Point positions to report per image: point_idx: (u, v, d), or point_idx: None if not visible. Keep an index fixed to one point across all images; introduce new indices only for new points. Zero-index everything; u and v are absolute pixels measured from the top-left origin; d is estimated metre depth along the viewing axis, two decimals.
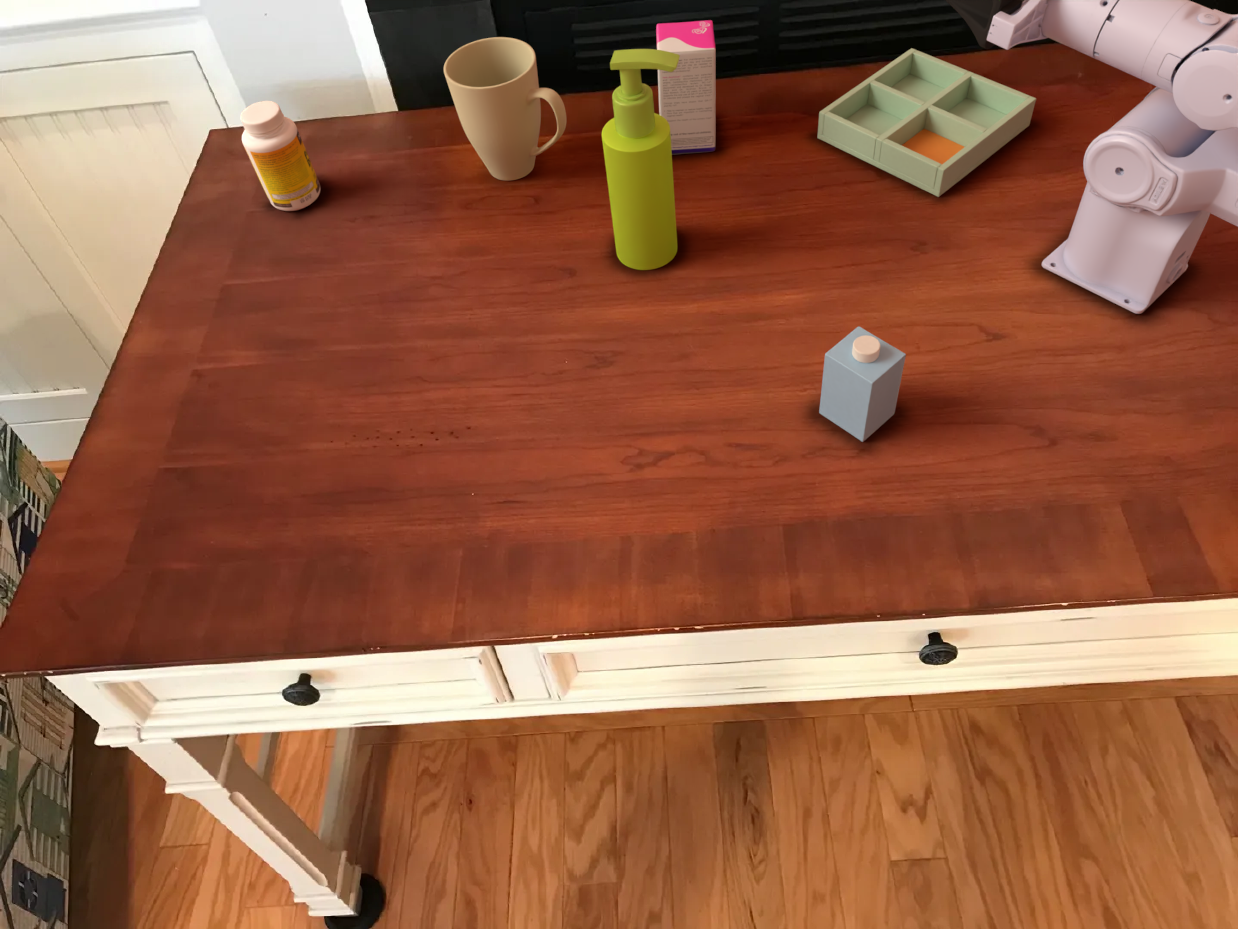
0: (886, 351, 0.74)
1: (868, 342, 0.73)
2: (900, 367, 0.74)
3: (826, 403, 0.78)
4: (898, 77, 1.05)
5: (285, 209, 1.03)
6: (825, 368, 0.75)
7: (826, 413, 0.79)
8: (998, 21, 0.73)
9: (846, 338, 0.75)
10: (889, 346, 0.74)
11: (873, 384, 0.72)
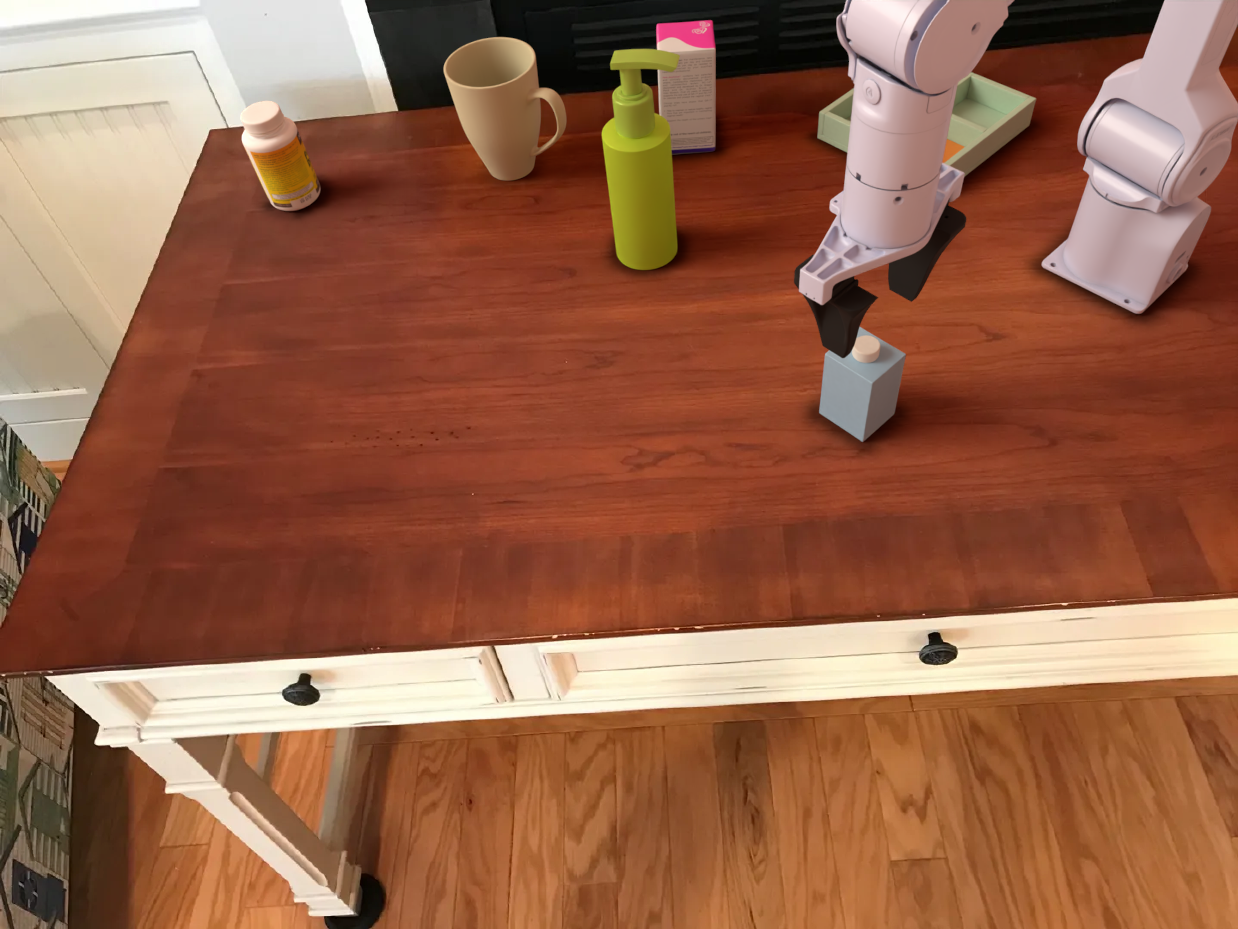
0: (886, 351, 0.74)
1: (868, 342, 0.73)
2: (900, 367, 0.74)
3: (826, 403, 0.78)
4: None
5: (285, 209, 1.03)
6: (825, 368, 0.75)
7: (826, 413, 0.79)
8: (801, 287, 0.63)
9: None
10: (889, 346, 0.74)
11: (873, 384, 0.72)
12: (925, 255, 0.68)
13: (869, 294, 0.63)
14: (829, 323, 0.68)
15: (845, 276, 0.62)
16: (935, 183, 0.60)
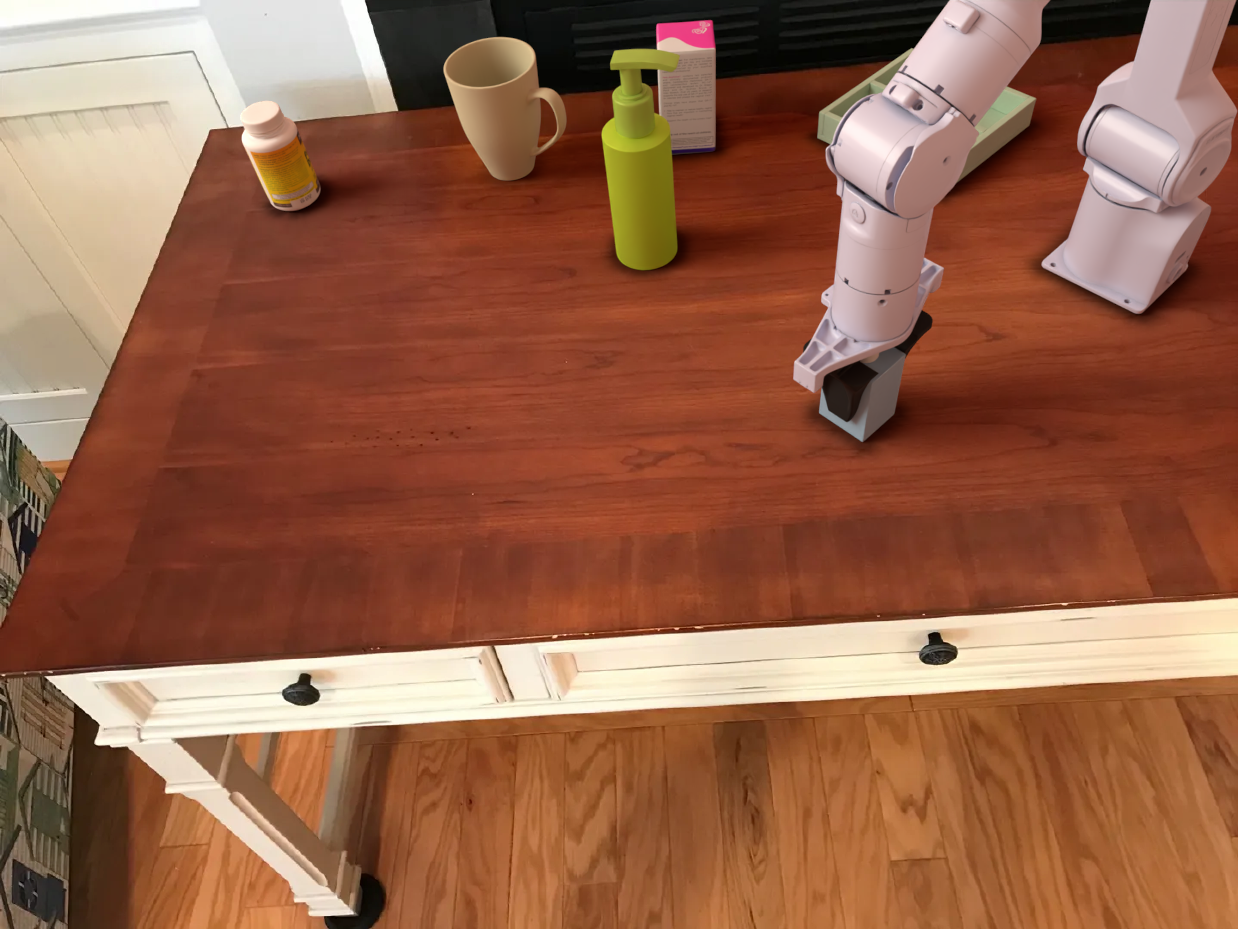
0: (886, 351, 0.74)
1: None
2: (900, 367, 0.74)
3: None
4: None
5: (285, 209, 1.03)
6: None
7: (826, 413, 0.79)
8: (795, 376, 0.70)
9: None
10: None
11: (872, 384, 0.72)
12: None
13: (870, 370, 0.70)
14: (834, 392, 0.75)
15: (835, 367, 0.68)
16: (915, 286, 0.66)
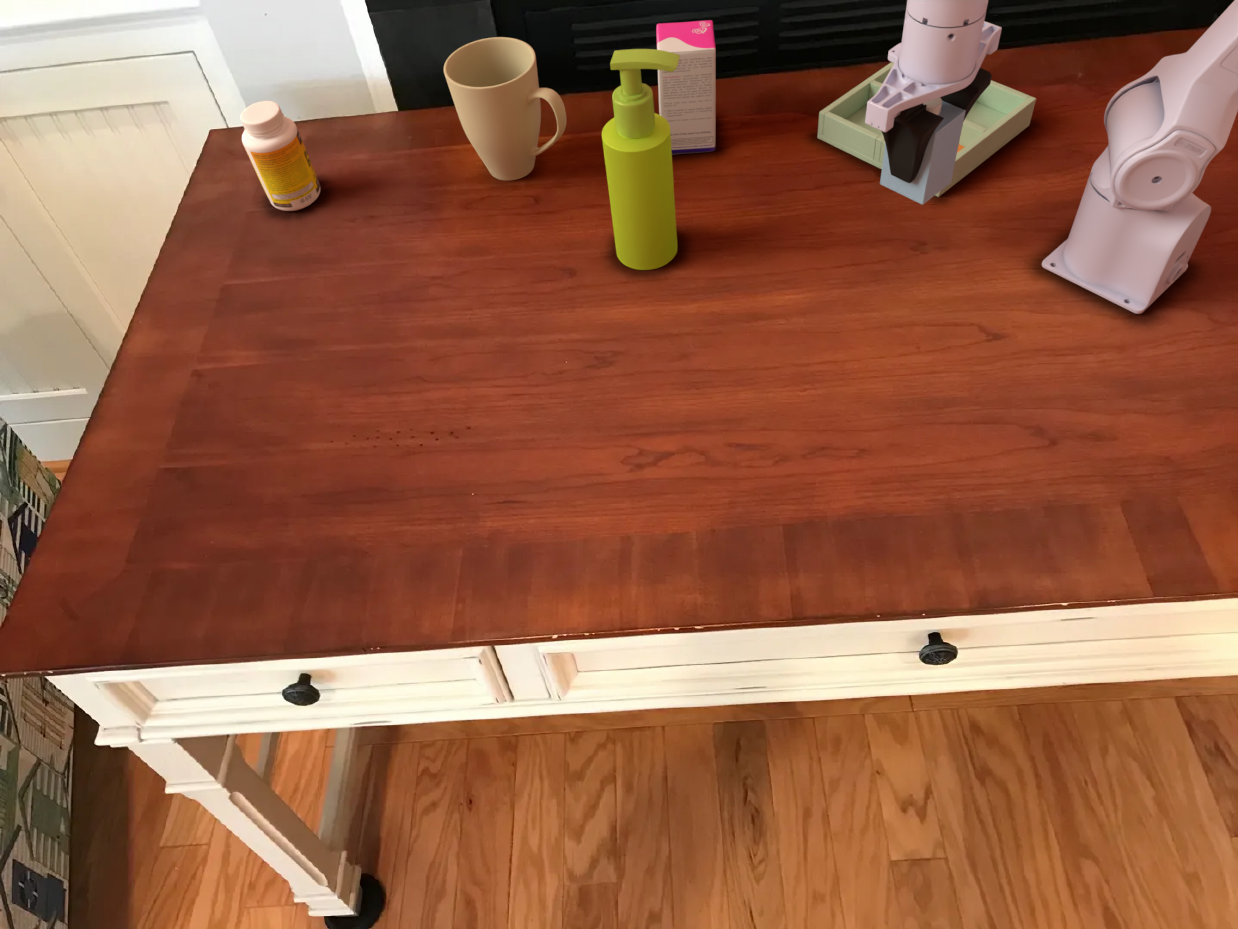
0: (946, 108, 0.79)
1: None
2: (960, 125, 0.80)
3: (888, 170, 0.84)
4: None
5: (285, 209, 1.03)
6: None
7: (887, 182, 0.84)
8: (867, 118, 0.75)
9: None
10: (949, 105, 0.80)
11: (936, 134, 0.78)
12: None
13: (936, 115, 0.76)
14: (898, 150, 0.80)
15: (905, 106, 0.74)
16: (981, 23, 0.72)
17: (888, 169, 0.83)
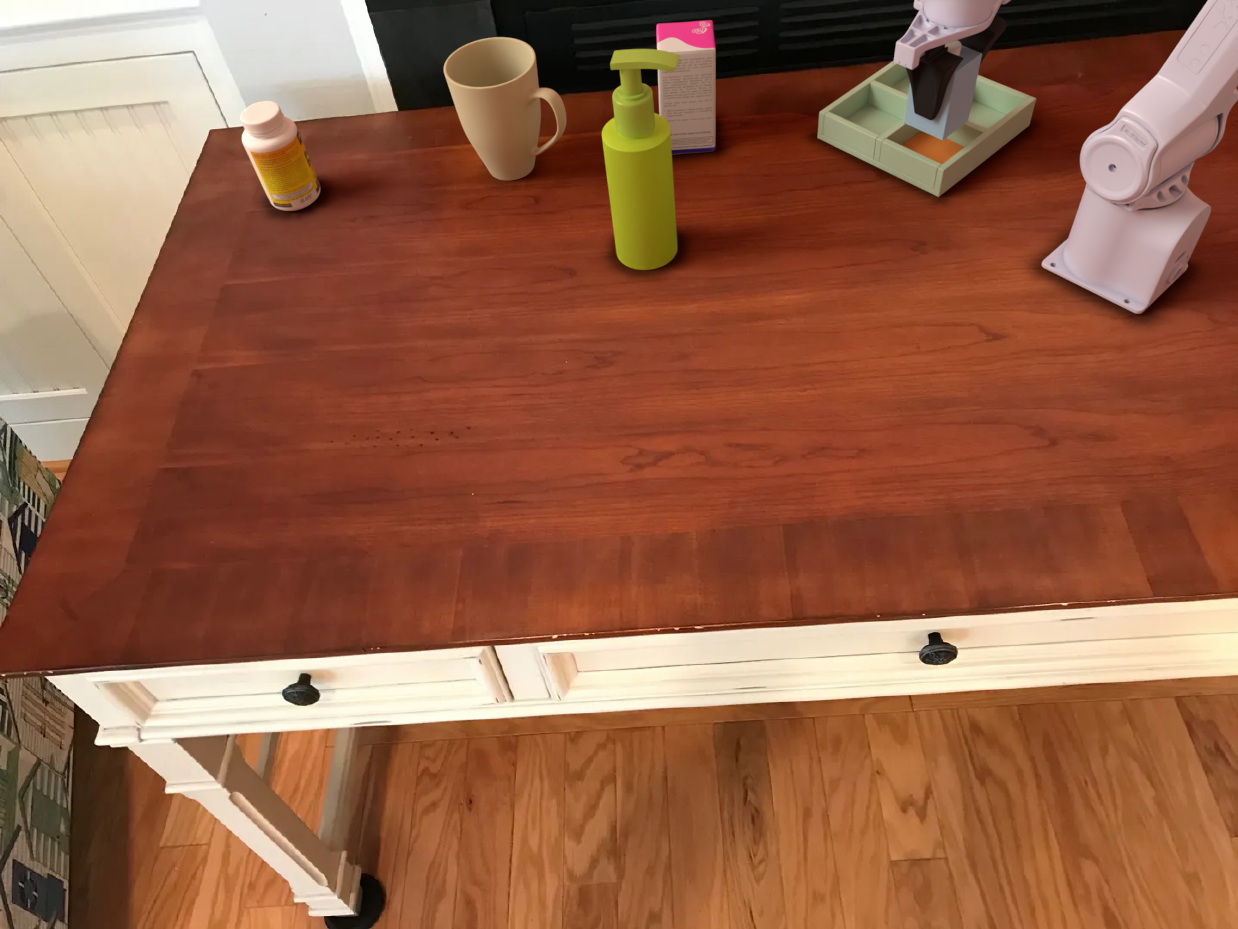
0: (965, 52, 0.89)
1: (951, 42, 0.88)
2: (977, 66, 0.89)
3: (911, 109, 0.93)
4: (898, 77, 1.05)
5: (285, 209, 1.03)
6: None
7: (910, 120, 0.94)
8: (896, 57, 0.84)
9: None
10: (967, 48, 0.89)
11: (956, 73, 0.87)
12: None
13: (956, 56, 0.85)
14: (922, 90, 0.90)
15: (929, 46, 0.83)
16: None
17: (912, 108, 0.93)
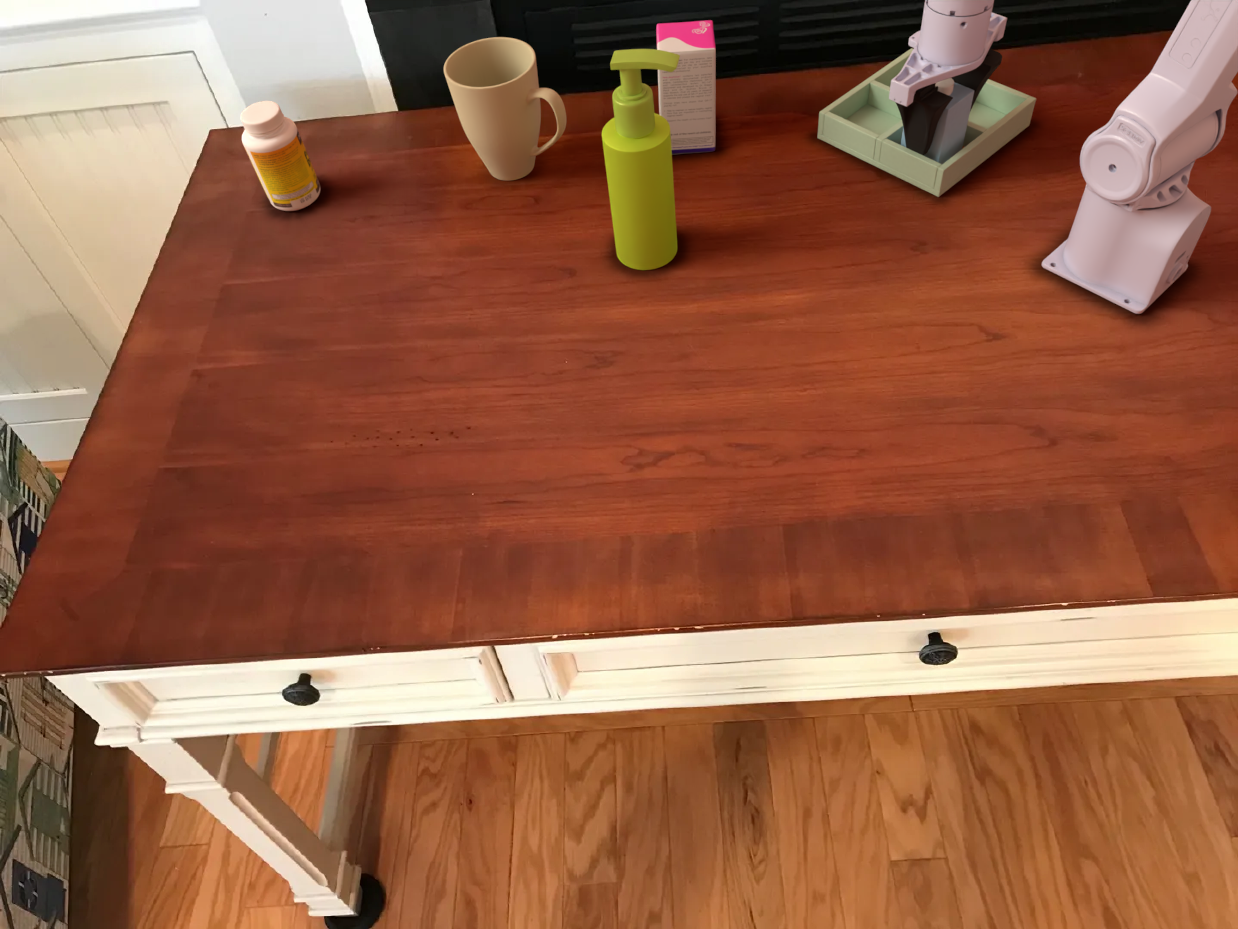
0: (958, 89, 0.92)
1: (944, 80, 0.91)
2: (969, 103, 0.92)
3: None
4: None
5: (285, 209, 1.03)
6: None
7: None
8: (891, 94, 0.87)
9: None
10: (960, 85, 0.92)
11: (948, 110, 0.90)
12: (971, 87, 0.92)
13: (946, 95, 0.88)
14: (913, 126, 0.93)
15: (923, 84, 0.86)
16: (989, 13, 0.84)
17: None
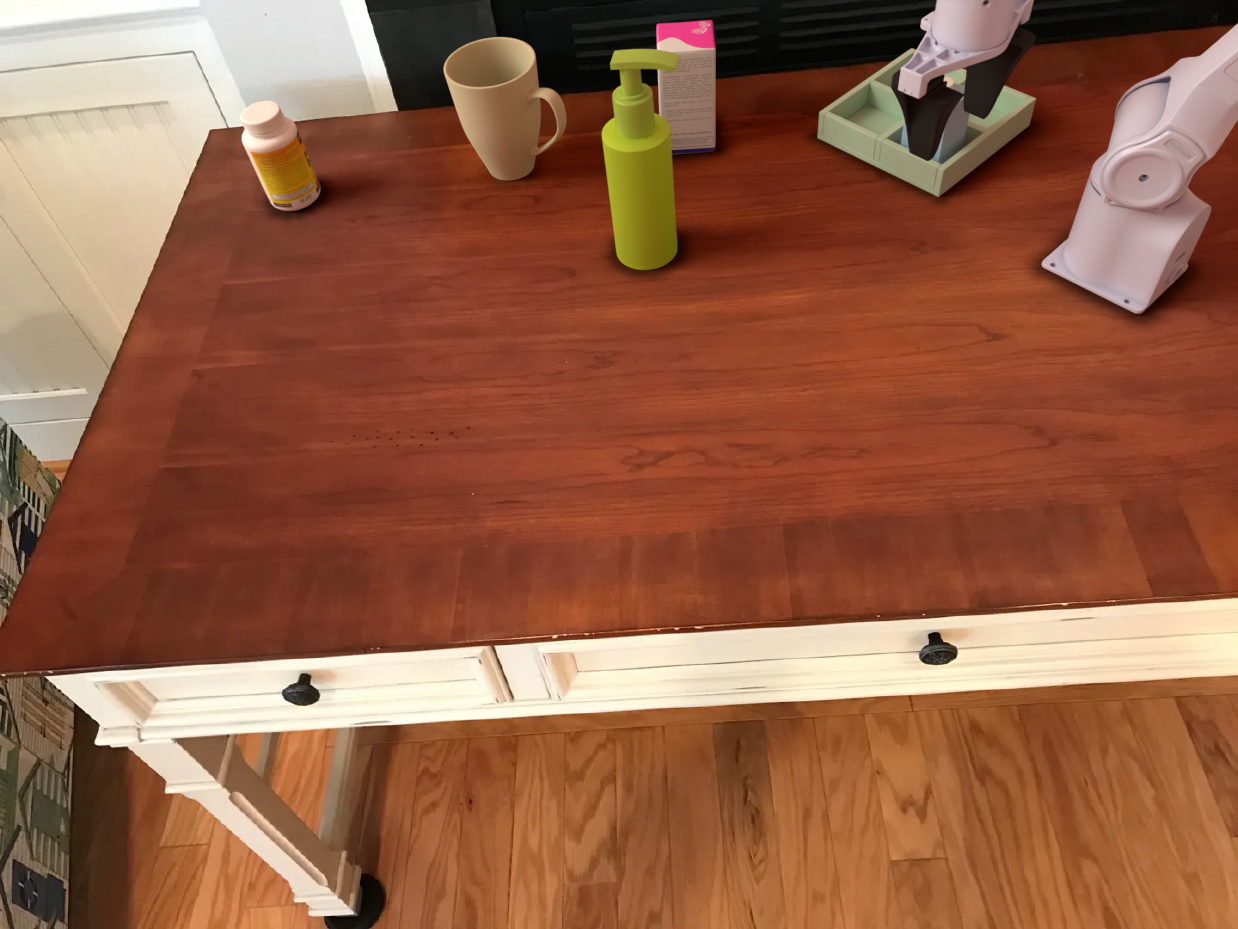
0: (958, 89, 0.92)
1: (944, 80, 0.91)
2: None
3: (906, 143, 0.96)
4: None
5: (285, 209, 1.03)
6: None
7: None
8: (900, 84, 0.75)
9: None
10: (960, 85, 0.92)
11: None
12: (998, 72, 0.81)
13: (957, 92, 0.76)
14: (918, 127, 0.80)
15: (938, 72, 0.74)
16: None
17: (906, 142, 0.96)
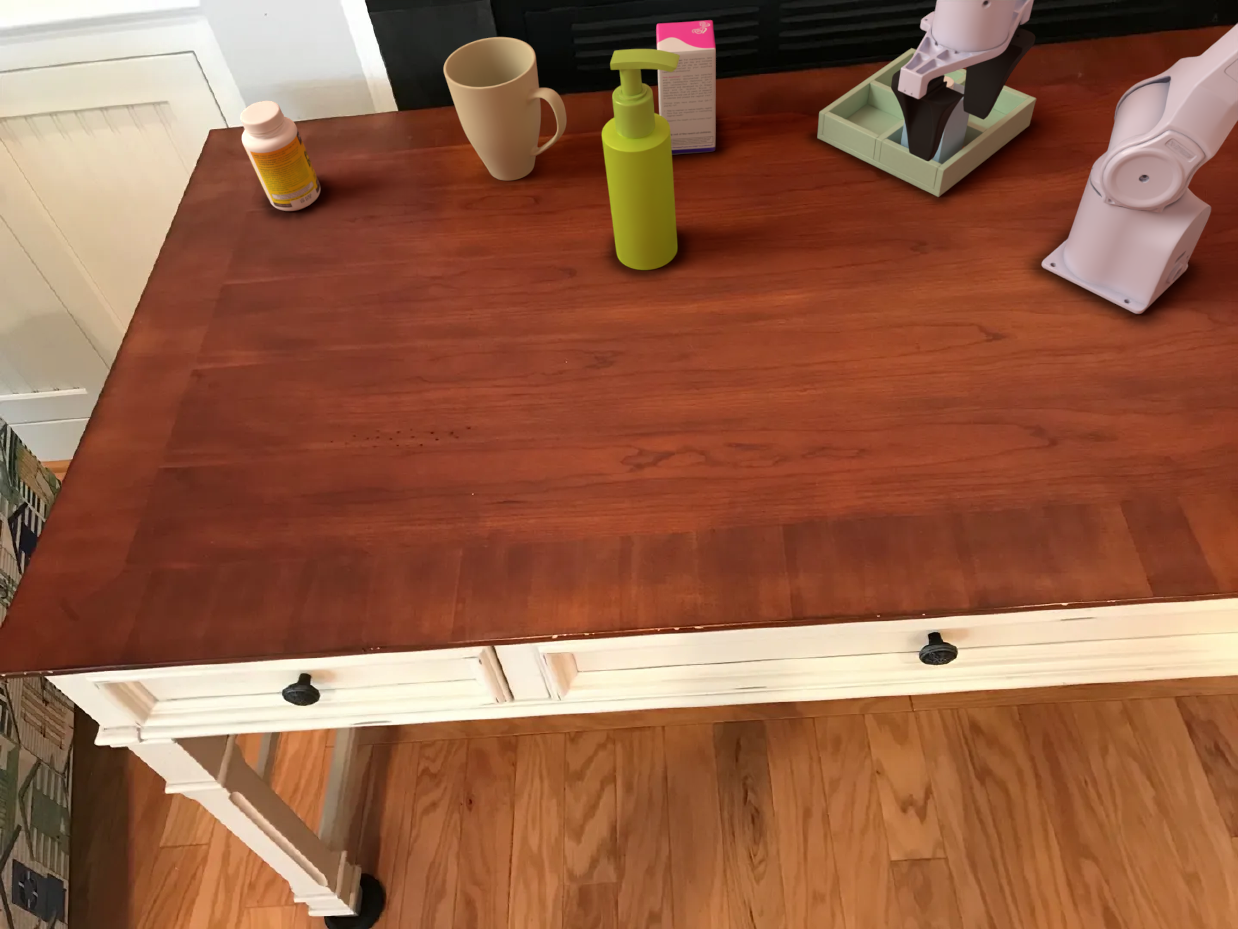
0: (958, 89, 0.92)
1: (944, 80, 0.91)
2: None
3: (906, 143, 0.96)
4: None
5: (285, 209, 1.03)
6: None
7: None
8: (900, 85, 0.75)
9: None
10: (960, 85, 0.92)
11: None
12: (998, 72, 0.81)
13: (957, 92, 0.76)
14: (918, 128, 0.80)
15: (939, 73, 0.74)
16: None
17: (906, 142, 0.96)
